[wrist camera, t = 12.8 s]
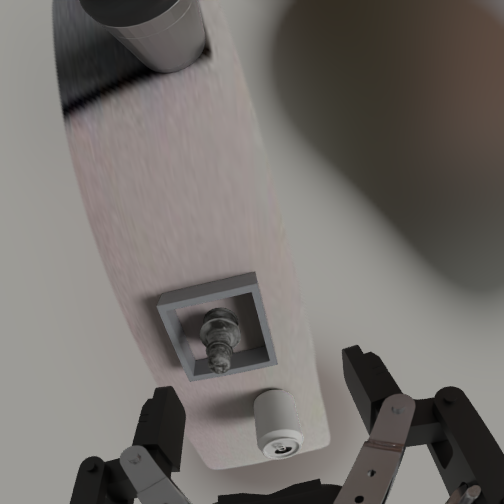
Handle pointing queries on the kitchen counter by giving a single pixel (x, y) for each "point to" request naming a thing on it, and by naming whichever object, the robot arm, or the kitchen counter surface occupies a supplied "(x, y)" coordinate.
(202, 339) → the chess piece
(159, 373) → the kitchen counter surface
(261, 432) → the can
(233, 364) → the bin
